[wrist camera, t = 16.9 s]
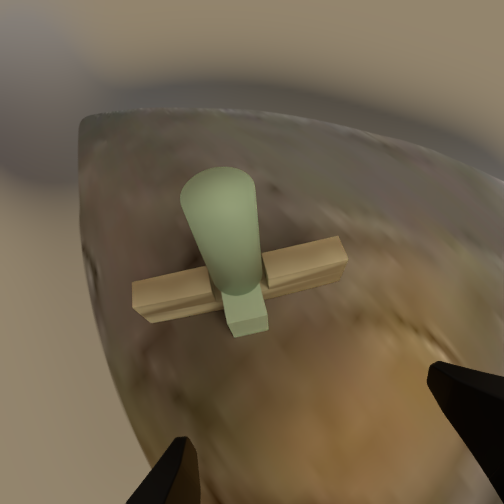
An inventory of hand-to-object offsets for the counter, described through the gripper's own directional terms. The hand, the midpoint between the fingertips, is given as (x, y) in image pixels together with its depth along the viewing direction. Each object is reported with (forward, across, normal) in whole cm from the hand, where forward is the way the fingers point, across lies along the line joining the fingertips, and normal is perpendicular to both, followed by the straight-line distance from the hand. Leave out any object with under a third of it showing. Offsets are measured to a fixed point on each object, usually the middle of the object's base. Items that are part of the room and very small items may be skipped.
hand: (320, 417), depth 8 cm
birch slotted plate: (+18, +2, +2) cm, 18 cm away
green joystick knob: (+18, +2, +2) cm, 18 cm away
